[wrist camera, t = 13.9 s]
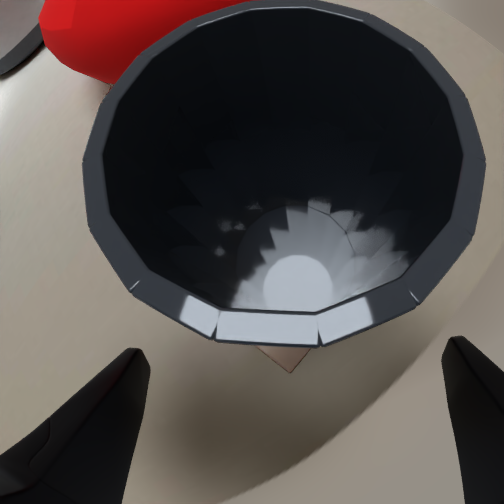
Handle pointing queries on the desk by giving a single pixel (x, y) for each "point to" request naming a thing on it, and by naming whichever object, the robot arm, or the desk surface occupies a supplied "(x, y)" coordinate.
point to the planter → (18, 31)
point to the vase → (113, 30)
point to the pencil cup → (283, 174)
